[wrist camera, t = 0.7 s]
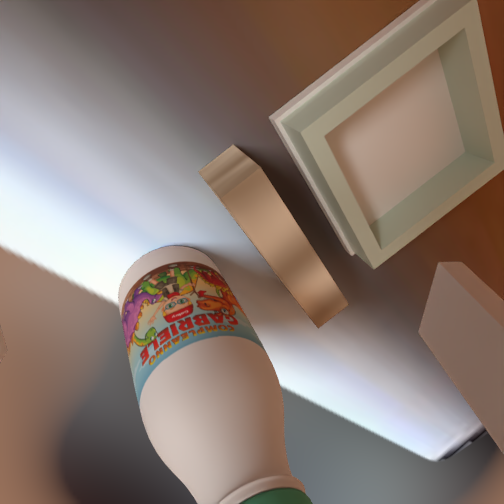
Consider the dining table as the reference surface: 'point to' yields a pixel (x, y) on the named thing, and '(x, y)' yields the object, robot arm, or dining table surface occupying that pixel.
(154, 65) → the dining table surface
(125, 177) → the dining table surface
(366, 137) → the cradle
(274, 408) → the milk bottle
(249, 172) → the board
